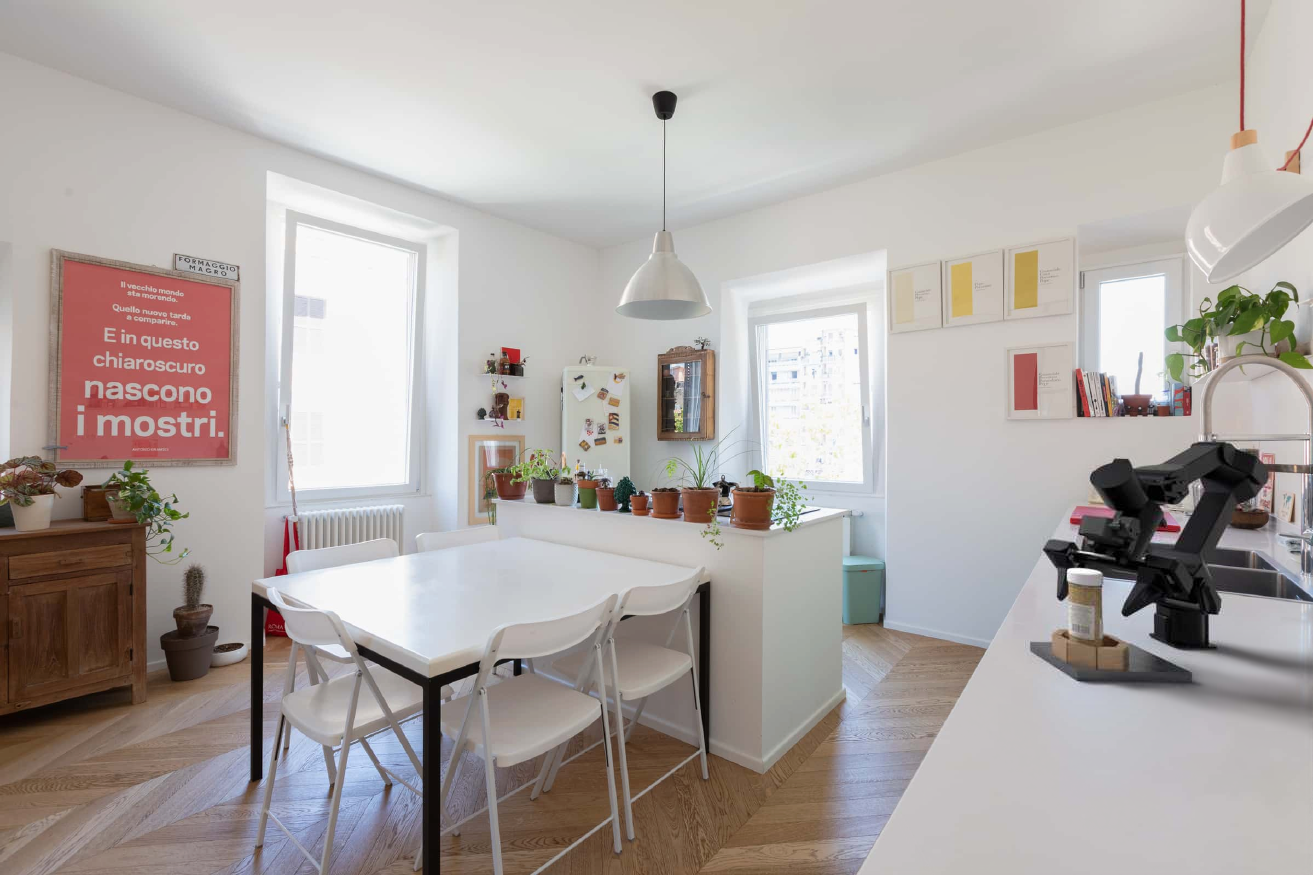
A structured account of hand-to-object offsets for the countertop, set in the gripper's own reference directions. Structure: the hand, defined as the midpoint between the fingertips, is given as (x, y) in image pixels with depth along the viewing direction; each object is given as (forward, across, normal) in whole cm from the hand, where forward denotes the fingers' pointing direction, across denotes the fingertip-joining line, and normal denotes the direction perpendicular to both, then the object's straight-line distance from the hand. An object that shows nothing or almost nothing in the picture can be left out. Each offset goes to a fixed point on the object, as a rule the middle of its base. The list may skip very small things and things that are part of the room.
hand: (1089, 606), depth 91 cm
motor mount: (+5, +1, +9) cm, 10 cm away
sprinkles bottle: (+6, -1, +6) cm, 8 cm away
